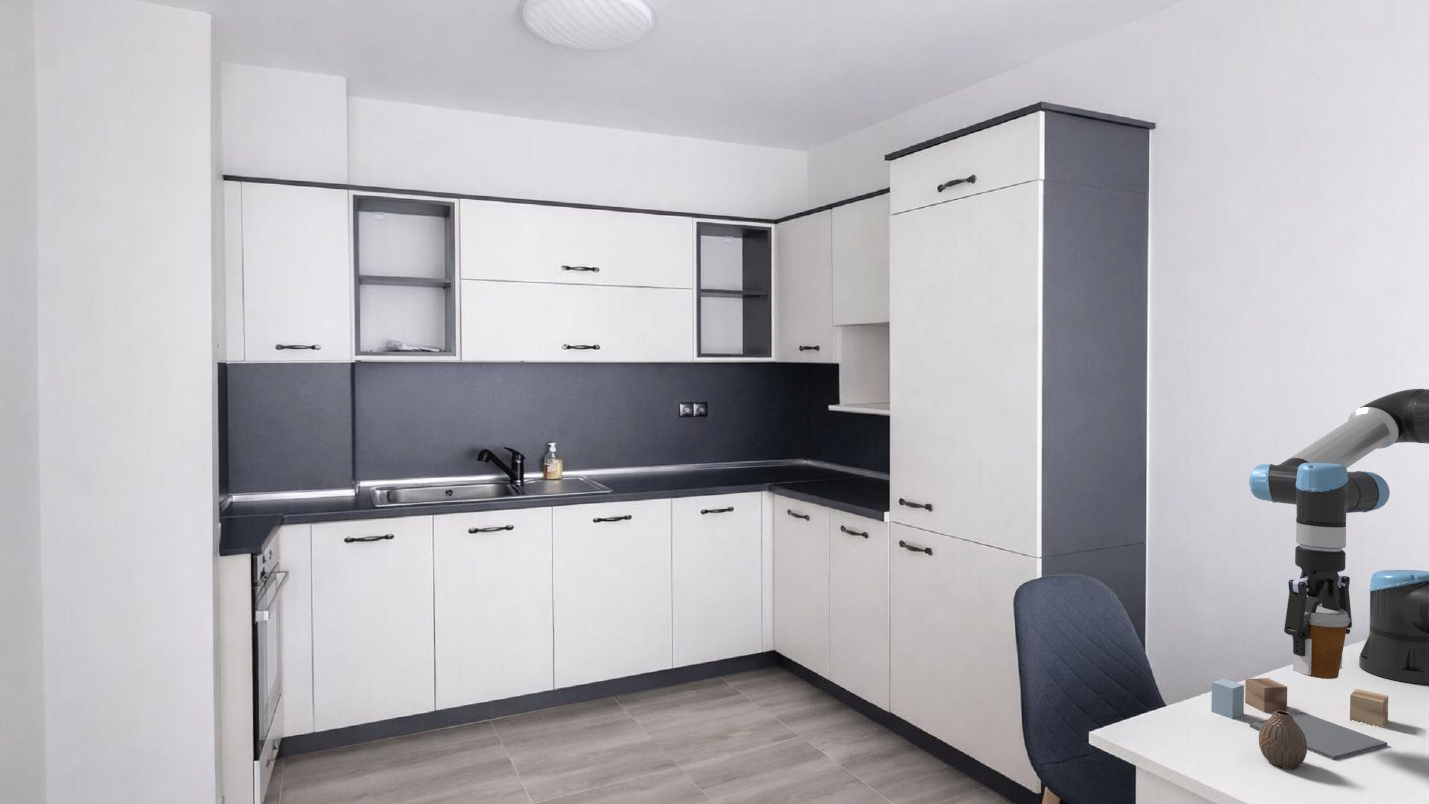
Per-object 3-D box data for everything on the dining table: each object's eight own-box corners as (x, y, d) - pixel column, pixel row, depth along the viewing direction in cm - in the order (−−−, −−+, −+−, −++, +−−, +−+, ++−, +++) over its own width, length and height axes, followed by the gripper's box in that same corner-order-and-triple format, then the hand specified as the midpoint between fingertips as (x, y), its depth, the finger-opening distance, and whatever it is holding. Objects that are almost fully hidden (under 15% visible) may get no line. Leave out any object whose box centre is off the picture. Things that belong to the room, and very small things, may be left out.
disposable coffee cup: (1336, 686, 148) (1337, 619, 148) (1276, 670, 156) (1277, 606, 155) (1358, 676, 153) (1359, 611, 153) (1299, 661, 161) (1300, 599, 161)
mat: (1301, 715, 164) (1301, 712, 164) (1387, 745, 150) (1387, 742, 150) (1249, 726, 159) (1249, 723, 159) (1333, 759, 145) (1333, 756, 145)
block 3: (1355, 713, 165) (1356, 688, 165) (1387, 721, 162) (1388, 695, 162) (1349, 720, 162) (1350, 694, 162) (1382, 728, 158) (1382, 702, 158)
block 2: (1267, 702, 171) (1267, 678, 171) (1286, 711, 166) (1287, 686, 166) (1245, 703, 171) (1245, 679, 171) (1264, 712, 166) (1264, 687, 166)
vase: (1316, 769, 141) (1317, 718, 141) (1285, 774, 139) (1286, 723, 139) (1278, 752, 148) (1279, 703, 148) (1248, 757, 146) (1249, 707, 146)
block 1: (1243, 715, 165) (1222, 708, 168) (1244, 684, 164) (1223, 678, 168) (1232, 719, 163) (1211, 712, 166) (1232, 688, 162) (1211, 682, 166)
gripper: (1335, 539, 161) (1332, 656, 162) (1261, 547, 153) (1259, 670, 154) (1378, 547, 154) (1375, 669, 155) (1303, 555, 146) (1301, 683, 147)
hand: (1317, 669), depth 154 cm, fingers closed on disposable coffee cup, 8 cm apart
